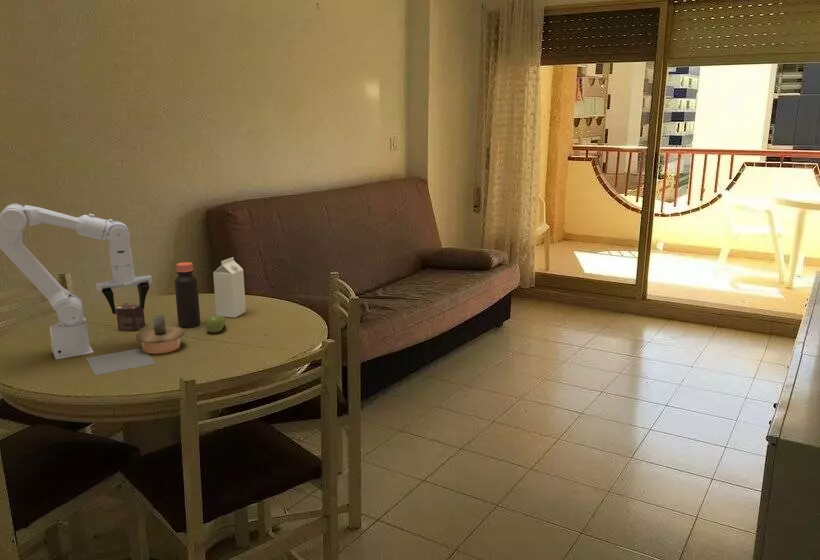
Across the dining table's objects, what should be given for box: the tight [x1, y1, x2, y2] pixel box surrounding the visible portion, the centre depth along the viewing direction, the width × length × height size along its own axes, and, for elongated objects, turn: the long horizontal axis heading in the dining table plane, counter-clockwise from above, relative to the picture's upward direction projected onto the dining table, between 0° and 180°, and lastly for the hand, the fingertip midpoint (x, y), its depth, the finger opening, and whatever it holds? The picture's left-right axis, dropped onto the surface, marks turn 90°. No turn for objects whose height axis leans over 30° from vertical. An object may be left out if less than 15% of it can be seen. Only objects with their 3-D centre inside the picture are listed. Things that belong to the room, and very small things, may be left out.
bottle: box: [174, 261, 201, 329], centre depth 211 cm, size 7×7×20 cm
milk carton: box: [212, 256, 247, 319], centre depth 222 cm, size 7×7×19 cm
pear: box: [205, 314, 226, 334], centre depth 208 cm, size 6×5×10 cm
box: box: [115, 302, 146, 332], centre depth 209 cm, size 6×6×7 cm
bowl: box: [141, 337, 181, 355], centre depth 191 cm, size 10×10×4 cm
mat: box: [85, 347, 156, 376], centre depth 181 cm, size 15×15×1 cm
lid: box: [135, 314, 185, 343], centre depth 190 cm, size 13×13×6 cm
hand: (128, 310), depth 192 cm, fingers open, 7 cm apart
